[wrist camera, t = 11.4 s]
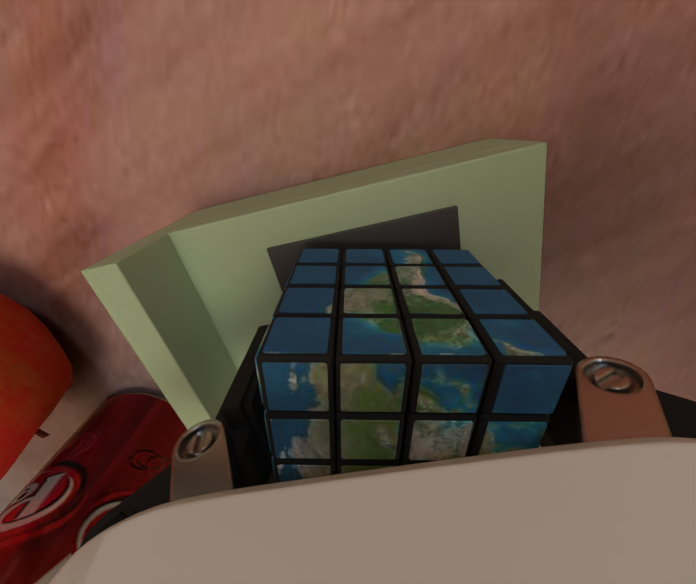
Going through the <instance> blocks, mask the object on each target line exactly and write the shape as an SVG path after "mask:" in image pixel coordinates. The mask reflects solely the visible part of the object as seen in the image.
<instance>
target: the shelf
mask: <svg viewBox="0 0 696 584" xmlns="http://www.w3.org/2000/svg"><path fill="white" fill-rule="evenodd" d="M546 154H547V143H546V142H536V141H522V140H507V139H492V138H487V139H483V140H479V141H475V142H471V143H467V144H463V145H459V146H455V147H451V148H447V149H443V150H439V151H435V152H431V153H427V154H423V155H419V156H414V157H410V158H406V159H402V160H398V161H394V162H390V163H386V164H382V165H378V166H374V167H370V168H366V169H362V170H358V171H354V172H350V173H346V174H342V175H337V176H333V177H329V178H325V179H321V180H317V181H313V182H309V183H305V184H301V185H297V186H293V187H289V188H285V189H281V190H277V191H273V192H269V193H265V194H261V195H256V196H252V197H248V198H244V199H240V200H236V201H232V202H228V203H224V204H220V205H216V206H212V207H208V208H204V209H200V210H196V211H195V212H193V213H191V214H189V215H187V216H185V217H183V218H181V219H179V220H177V221H175V222H174V223H172V224H170V225H168V226H166V227H164V228H162V229H160V230H159V231H157V232H155V233H153V234H151V235H149V236H147V237H145V238H143V239H142V240H139V241H137V242H135V243H133V244H131V245H129V246H127V247H126V248H124V249H122V250H120V251H118V252H116V253H114V254H112V255H110V256H108V257H106V258H105V259H103V260H101V261H99V262H97V263H95V264H93V265H91V266H89V267H87V268H85V269H84V270H82V271H81V273H82V274H83V276H84V277H85V279H86V280H87V282H88V283H89V285H90V286H91V288H92V289H93V291H94V292H95V294H96V295H97V297H98V298H99V300H100V301H101V302H102V304H103V305H104V307H105V308H106V310H107V311H108V313H109V314H110V316H111V317H112V319H113V320H114V322H115V323H116V325H117V326H118V328H119V329H120V331H121V332H122V334H123V335H124V336H125V338H126V339H127V341H128V342H129V344H130V345H131V347H132V348H133V350H134V351H135V353H136V354H137V356H138V357H139V359H140V360H141V362H142V363H143V365H144V366H145V368H146V369H147V370H148V372H149V373H150V375H151V376H152V378H153V379H154V381H155V382H156V384H157V385H158V387H159V388H160V390H161V391H162V393H163V394H164V396H165V397H166V399H167V400H168V402H169V403H170V405H171V406H172V407H173V409H174V410H175V412H176V413H177V415H178V416H179V418H180V419H181V421H182V422H183V424H184V425H185V427H186V428H187V430H188V429H189V428H191V427H192V426H194V425H195V424H197V423H199V422H202V421H204V420H209V419H215V418H216V416H217V414H218V412H219V410H220V407H221V405H222V403H223V401H224V399H225V397H226V395H227V393H228V390H229V388H230V386H231V384H232V382H233V380H234V378H235V376H236V374H237V371H238V369H239V367H240V365H241V363H242V361H243V359H244V357H245V355H246V353H247V351H248V349H249V346H250V344H251V342H252V340H253V338H254V336H255V334H256V332H257V329H258V328H259V326H263V325H268V324H271V322H272V316H273V313H274V311H275V309H276V306H277V304H278V302H279V299H280V297H281V294H283V292H284V290H285V285H286V283H287V280H288V278H289V276H290V273H291V271H293V269H294V264H295V262H296V259H297V257H298V255H299V253H300V252H301V251H302V250H303V249H339V250H340V251H341V252H342V264H343V252H344V250H347V249H381V250H382V251H384V254H385V257H386V252H387V251H388V250H390V249H420V250H425V251H426V252H427V253H429V252H430V251H433V250H468V251H469V252H470V253H471V254H472V255H473V256H474V257H475V258H476V259H477V260H478V261H479V262H480V264H481V265H482V266H483V267H485V268H486V269H487V271H488V272H489V273H490V274H491V275H492V276H493V277H494V278H495V279H496V280H497V279H502V280H504V281H505V282H506V283H507V284H508V285H509V286H510V287H511V288H512V289H513V290H514V291H515V292H516V293H517V294H518V295H519V296H520V297H521V298H522V299H523V300H524V302H525V303H526V304H527V305H528V306H529V307H530V308H531V309H532V310H533V311H535V310H536V311H539V295H540V275H541V255H542V235H543V215H544V194H545V174H546Z"/></svg>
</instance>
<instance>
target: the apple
mask: <svg viewBox="0 0 696 584" xmlns="http://www.w3.org/2000/svg"><path fill="white" fill-rule="evenodd" d="M72 383H73V382H72V365H71V363H70V361H69V359H68V358H67V356H66V354H65V353H64V351H63V349H62V347H61V346H60V345H59V343H58V342H57V340H56V339H55V338H54V336H53V335H52V334H51V332H50V331H49V329H48V328H47V327H46V326H45V325H44V324H43V323H42V322H41V321H40V320H39V319H38V318H37V317H36V316H35V315H34V314H33V313H32V312H31V311H30V310H28V309H27V308H25V307H23V306H22V305H20V304H18V303H17V302H15V301H13V300H12V299H10V298H8V297H7V296H5V295H2V294H0V479H1V478H2V477H3V476H4V475H5V474H6V473H7V472H8V470H9V469H10V467H11V466H12V465H13V463H14V462H15V461H16V459H17V458H18V457H19V455H20V454H21V453H22V451H23V450H24V448H25V447H26V446H27V444H28V443H29V441H30V440H31V439H32V437H33V436H34V434H36V435H38V436H40V437H41V438H44V437H46V436H48V435H50V434H48V433H46V432H44V431H42V430H41V429H39V427H40V426H41V425H42V424H43V422H44V421H45V420H46V419H47V417H48V416H49V415H50V414H51V412H52V411H53V410H54V408H55V407H56V405H57V404H58V402H59V401H60V399H61V398H62V396H63V395H64V393H65V392H66V390H67V389H68V388H69V387H70V386H71V385H72Z"/></svg>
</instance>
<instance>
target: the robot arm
mask: <svg viewBox="0 0 696 584" xmlns="http://www.w3.org/2000/svg"><path fill="white" fill-rule="evenodd" d="M497 281H498V282H499V283H500V284H501V285H502V286H503V287H504V290H506V291H507V292H508V293H509V294H510V295H511V296H512V297H513V298H514V299H515V300H516V301H517V302H518V303H519V304H520V305H521V306H522V307H523V308H524V310H525V311H526V312H527V313H528V314H529V315H530V316H531V317H532V319H533V320H535V321H536V322H537V323H538V324H539V325H540V326H541V327H542V328H543V329H544V330H545V331H546V332H547V333H548V334H549V335H550V336H551V337H552V339H553V340H554V341H555V342H556V343H557V344H558V345H559V346H560V347H561V348H562V349H563V350H564V351H565V352H566V354H567V355H568V356H569V357H570V358H571V359H572V360H573V363H572V365H571V368H572V369H571V371H570V374H569V376H568V378H567V381H566V383H565V385H564V388H563V390H562V392H561V395H560V397H559V399H558V402H557V404H556V407H555V409H554V411H553V413H551V414H547V415H548V416H549V420H548V422H547V425H548V426H547V428H546V430H545V433H544V435H543V437H542V440H541V442H540V446H541V447H540V448H532V449H525V450H517V451H509V452H501V453H494V454H486V455H478V456H470V457H463V458H455V459H447V460H440V461H432V462H425V463H417V464H410V465H402V466H395V467H387V468H380V469H373V470H365V471H358V472H351V473H343V474H336V475H329V476H322V477H315V478H308V479H301V480H293V481H286V482H279V483H275V478H274V472H273V466H272V452H271V451H270V447H269V442H268V436H267V430H266V424H265V419H264V412H265V408H264V403H262V400H261V394H260V388H259V383H258V377H257V371H256V365H255V356H256V353H257V351H258V349H259V346H260V344H261V342H262V339H263V337H264V335H265V332H266V330H267V328H268V325H269V324H268V325H263V326H259V328H258V329H257V332H256V334H255V336H254V338H253V340H252V342H251V344H250V346H249V349H248V351H247V353H246V355H245V357H244V359H243V361H242V363H241V365H240V367H239V369H238V371H237V374H236V376H235V378H234V380H233V382H232V384H231V386H230V388H229V390H228V393H227V395H226V397H225V399H224V401H223V403H222V405H221V407H220V410H219V412H218V414H217V416H216V418H215V419H209V420H204V421H202V422H199V423H197V424H195V425H194V426H192V427H191V428H189V429H188V430H187V431H186V432H185V433H183V434H182V436H181V437H180V438H179V439H178V440H177V442H176V444H175V446H174V447H173V451H172V462H171V465H169V466H168V467H167V468H165V469H164V470H163V471H161V472H160V473H159V474H157V475H156V476H155V477H153V478H152V479H151V480H150V481H148V482H147V483H146V484H144V485H143V486H142V487H140V488H139V489H138V490H136V491H135V492H134V493H132V494H131V495H130V496H128V497H127V498H126V499H125V500H123V501H122V502H121V503H119V504H118V505H117V506H115V507H114V508H113V509H111V510H110V511H109V512H107V513H106V514H105V515H104V516H103V517H102V518H101V519H99V520H98V521H97V522H96V524H95V525H94V526H93V527H92V528H91V529H90V530H89V532H88V533H87V535H86V536H85V538H84V539H83V541H82V543H81V546H80V548H79V550H77V551H76V552H75V553H74V554H73V555H72V554H71V553H70V554H69V555H68V556H66V557H65V558H64V559H63V560H62V561H60V562H59V563H58V564H57V565H56V566H54V567H53V568H52V569H51V570H50V571H49V572H47V573H46V574H45V575H44V576H43V577H41V578H40V579H39V580H38V581H37V582H35V583H34V584H696V402H695V401H691V400H688V399H685V398H681V397H678V396H674V395H671V394H668V393H664V392H661V391H658V390H655V387H654V384H653V382H652V380H651V378H650V377H649V375H648V374H647V373H646V372H645V371H643V370H642V369H641V368H640V367H638V366H636V365H634V364H632V363H630V362H627V361H624V360H621V359H618V358H613V357H606V356H595V357H589V358H587V357H586V356H585V355H584V354H583V353H582V352H581V351H580V350H579V349H578V348H577V347H576V346H575V345H574V344H573V343H572V342H571V341H570V340H569V339H568V338H567V337H566V336H565V335H564V334H563V333H561V332H560V331H559V330H558V329H557V328H556V327H555V326H554V325H553V324H552V323H551V322H550V321H549V320H548V319H547V318H546V317H545V316H544V315H543V314H542V313H541V312H539V311H536V310H535V311H533V310H532V309H531V308H530V307H529V306H528V305H527V304H526V303H525V302H524V300H523V299H522V298H521V297H520V296H519V295H518V294H517V293H516V292H515V291H514V290H513V289H512V288H511V287H510V286H509V285H508V284H507V283H506V282H505V281H504V280H502V279H497Z"/></svg>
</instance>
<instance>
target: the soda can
mask: <svg viewBox="0 0 696 584" xmlns="http://www.w3.org/2000/svg"><path fill="white" fill-rule="evenodd" d="M186 431H187V428H186V427H185V425H184V424H183V422H182V421H181V419H180V418H179V416H178V415H177V413H176V412H175V410H174V409H173V407H172V406H171V405H170V403H169V402H168V400H167V399H166V398H164V397H162V396H159V395H155V394H151V393H145V392H131V393H124V394H119V395H116V396H113V397H110V398H108V399H107V400H105V401H104V402H102V403H101V404H100V405H99V407H98V408H97V409H96V410H95V411H94V412H93V413H92V414H91V415H90V416H89V417H88V419H87V420H86V421H85V422H84V423H83V424H82V425H81V426H80V427H79V428H78V429H77V431H76V432H75V433H74V434H73V435H72V436H71V437H70V438H69V439H68V440H67V441H66V443H65V444H64V445H63V446H62V447H61V448H60V449H59V450H58V451H57V452H56V454H55V455H54V456H53V457H52V458H51V459H50V460H49V461H48V462H47V463H46V464H45V466H44V467H43V468H42V469H41V470H40V471H39V472H38V473H37V474H36V475H35V476H34V478H33V479H32V480H31V481H30V482H29V483H28V484H27V485H26V486H25V487H24V488H23V490H22V491H21V492H20V493H19V494H18V495H17V496H16V497H15V498H14V499H13V500H12V502H11V503H10V504H9V505H8V506H7V507H6V508H5V509H4V510H3V511H2V513H1V514H0V584H34V583H35V582H37V581H38V580H39V579H40V578H41V577H43V576H44V575H45V574H46V573H47V572H49V571H50V570H51V569H52V568H53V567H54V566H56V565H57V564H58V563H59V562H60V561H62V560H63V559H64V558H65V557H66V556H68V555H69V554H70V553H71V554H72V555H73V554H74V553H75V552H76V551H77V550H79V548H80V546H81V543H82V541H83V539H84V538H85V536H86V535H87V533H88V532H89V530H90V529H91V528H92V527H93V526H94V525H95V524H96V522H97V521H98V520H99V519H101V518H102V517H103V516H104V515H105V514H106V513H107V512H109V511H110V510H111V509H113V508H114V507H115V506H117V505H118V504H119V503H121V502H122V501H123V500H125V499H126V498H127V497H128V496H130V495H131V494H132V493H134V492H135V491H136V490H138V489H139V488H140V487H142V486H143V485H144V484H146V483H147V482H148V481H150V480H151V479H152V478H153V477H155V476H156V475H157V474H159V473H160V472H161V471H163V470H164V469H165V468H167V467H168V466H169V465H171V462H172V451H173V447H174V446H175V444H176V442H177V440H178V439H179V438H180V437H181V436H182V434H183V433H185V432H186Z"/></svg>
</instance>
